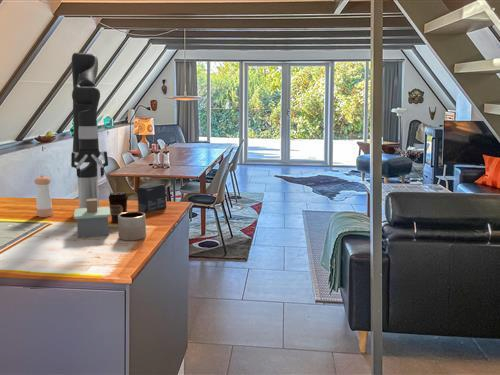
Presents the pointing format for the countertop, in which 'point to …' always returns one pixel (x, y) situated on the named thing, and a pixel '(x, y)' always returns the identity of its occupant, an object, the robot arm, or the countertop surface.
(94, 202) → the lid
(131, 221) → the planter
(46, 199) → the pepper shaker
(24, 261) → the countertop surface
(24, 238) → the countertop surface
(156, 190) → the small box
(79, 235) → the bin
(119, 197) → the coffee cup
